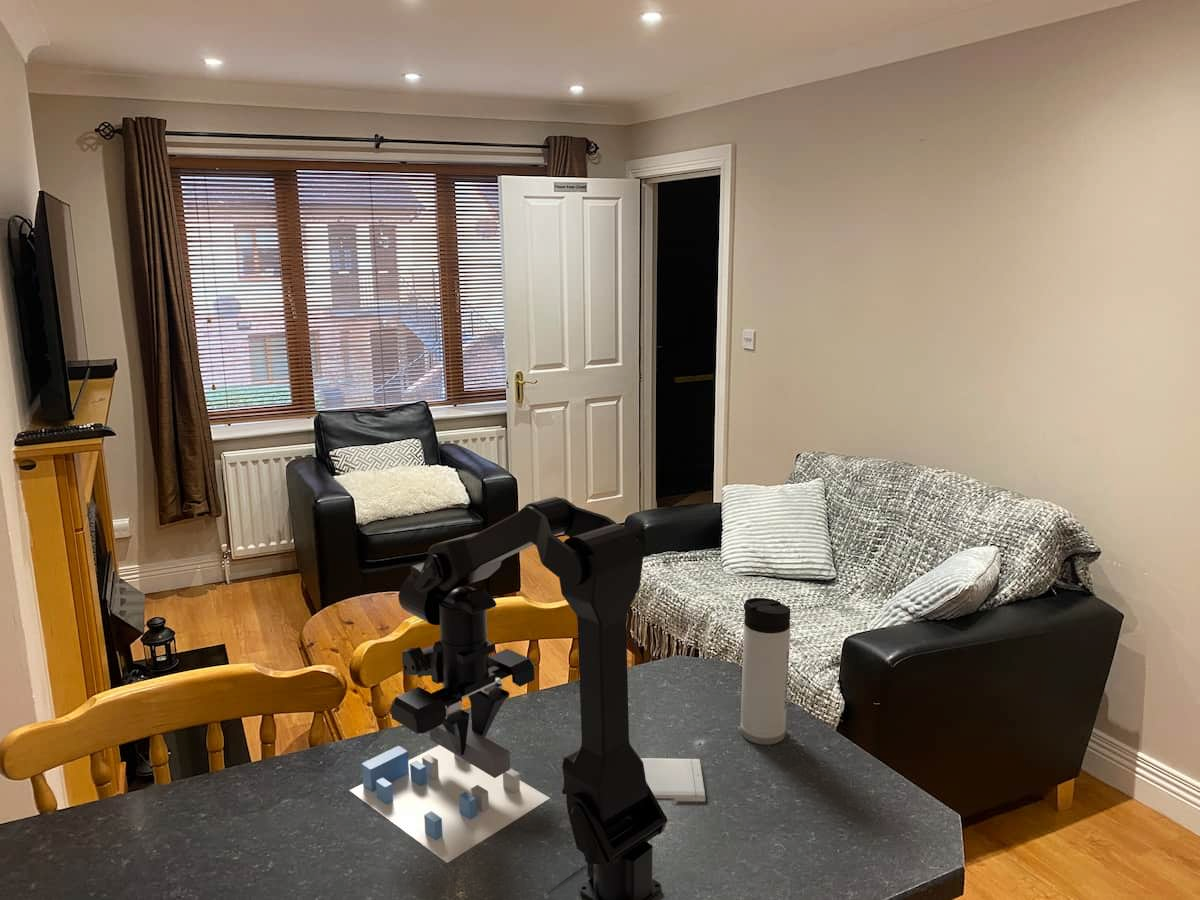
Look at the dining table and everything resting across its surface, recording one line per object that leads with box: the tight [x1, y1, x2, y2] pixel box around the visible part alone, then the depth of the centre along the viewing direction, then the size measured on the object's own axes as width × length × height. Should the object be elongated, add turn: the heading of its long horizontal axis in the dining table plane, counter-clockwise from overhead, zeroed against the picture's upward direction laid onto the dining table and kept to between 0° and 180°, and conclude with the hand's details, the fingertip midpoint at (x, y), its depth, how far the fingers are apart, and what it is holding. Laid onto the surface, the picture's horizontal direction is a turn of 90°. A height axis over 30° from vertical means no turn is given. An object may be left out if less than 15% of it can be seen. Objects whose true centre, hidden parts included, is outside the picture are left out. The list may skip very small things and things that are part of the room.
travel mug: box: [740, 597, 791, 746], centre depth 122 cm, size 6×7×20 cm
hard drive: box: [640, 757, 706, 802], centre depth 113 cm, size 2×8×12 cm
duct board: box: [348, 744, 551, 864], centre depth 110 cm, size 20×16×4 cm
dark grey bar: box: [429, 724, 511, 778], centre depth 112 cm, size 13×2×2 cm, turn 47°
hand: (468, 749), depth 112 cm, fingers closed on dark grey bar, 2 cm apart
